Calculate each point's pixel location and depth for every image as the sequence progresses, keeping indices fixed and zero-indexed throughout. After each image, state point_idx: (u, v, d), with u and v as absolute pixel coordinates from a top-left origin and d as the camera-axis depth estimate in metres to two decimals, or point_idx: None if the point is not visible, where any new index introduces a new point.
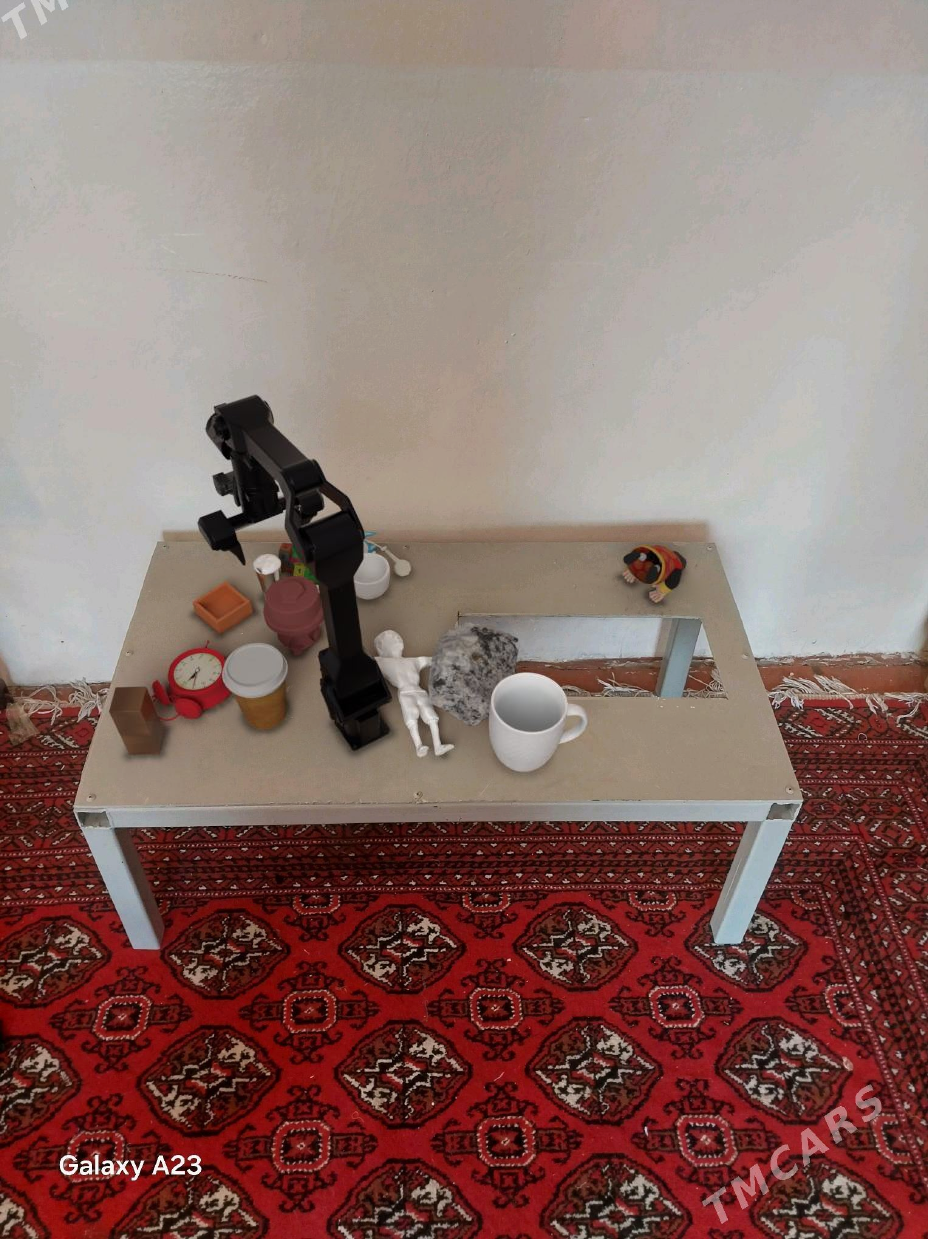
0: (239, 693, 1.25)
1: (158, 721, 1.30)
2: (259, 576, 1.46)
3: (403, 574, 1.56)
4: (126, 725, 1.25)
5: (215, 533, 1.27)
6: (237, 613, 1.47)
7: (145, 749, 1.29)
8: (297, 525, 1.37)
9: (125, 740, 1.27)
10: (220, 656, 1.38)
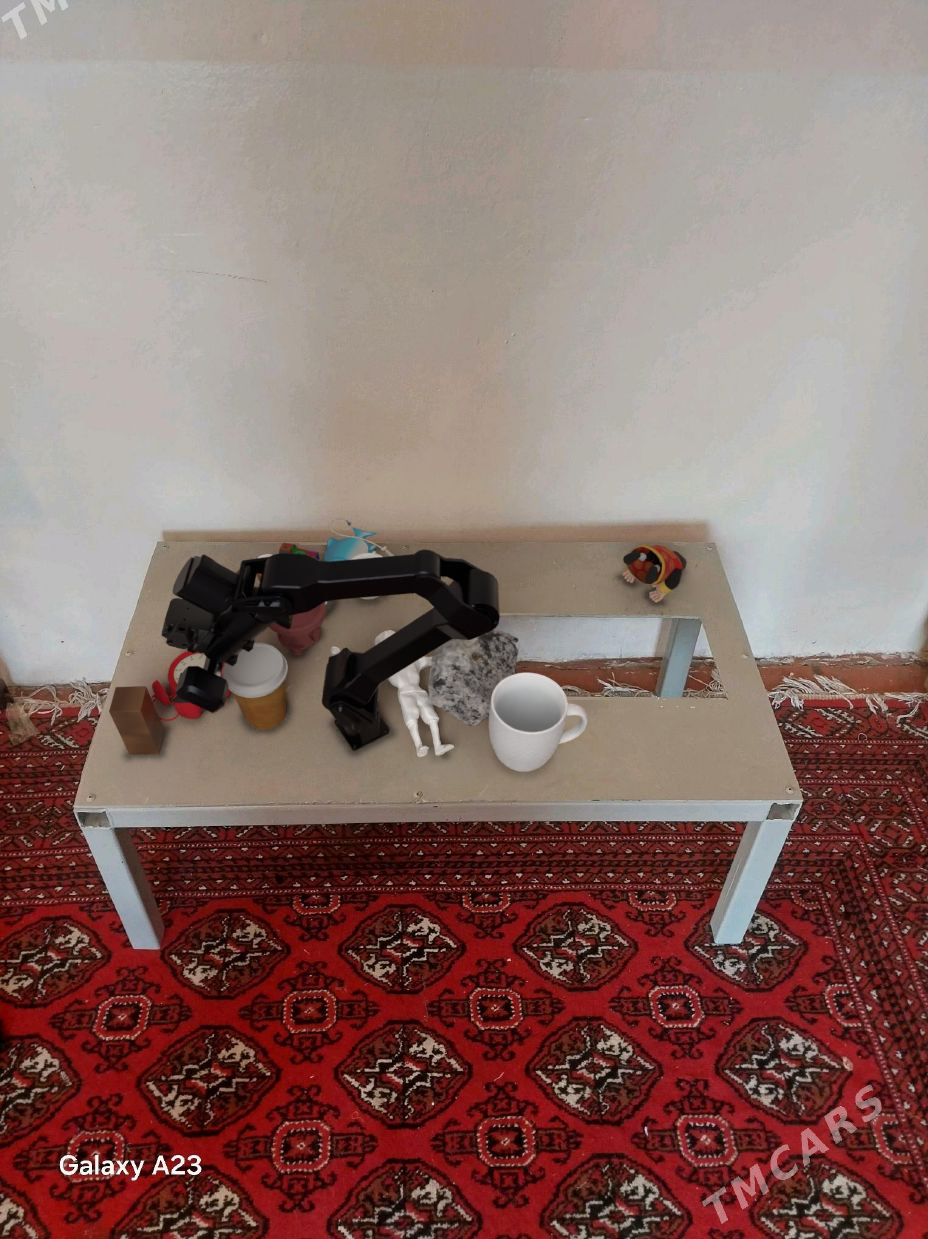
0: (239, 693, 1.25)
1: (158, 721, 1.30)
2: (259, 576, 1.46)
3: None
4: (126, 725, 1.25)
5: (222, 696, 1.15)
6: None
7: (145, 749, 1.29)
8: None
9: (125, 740, 1.27)
10: None
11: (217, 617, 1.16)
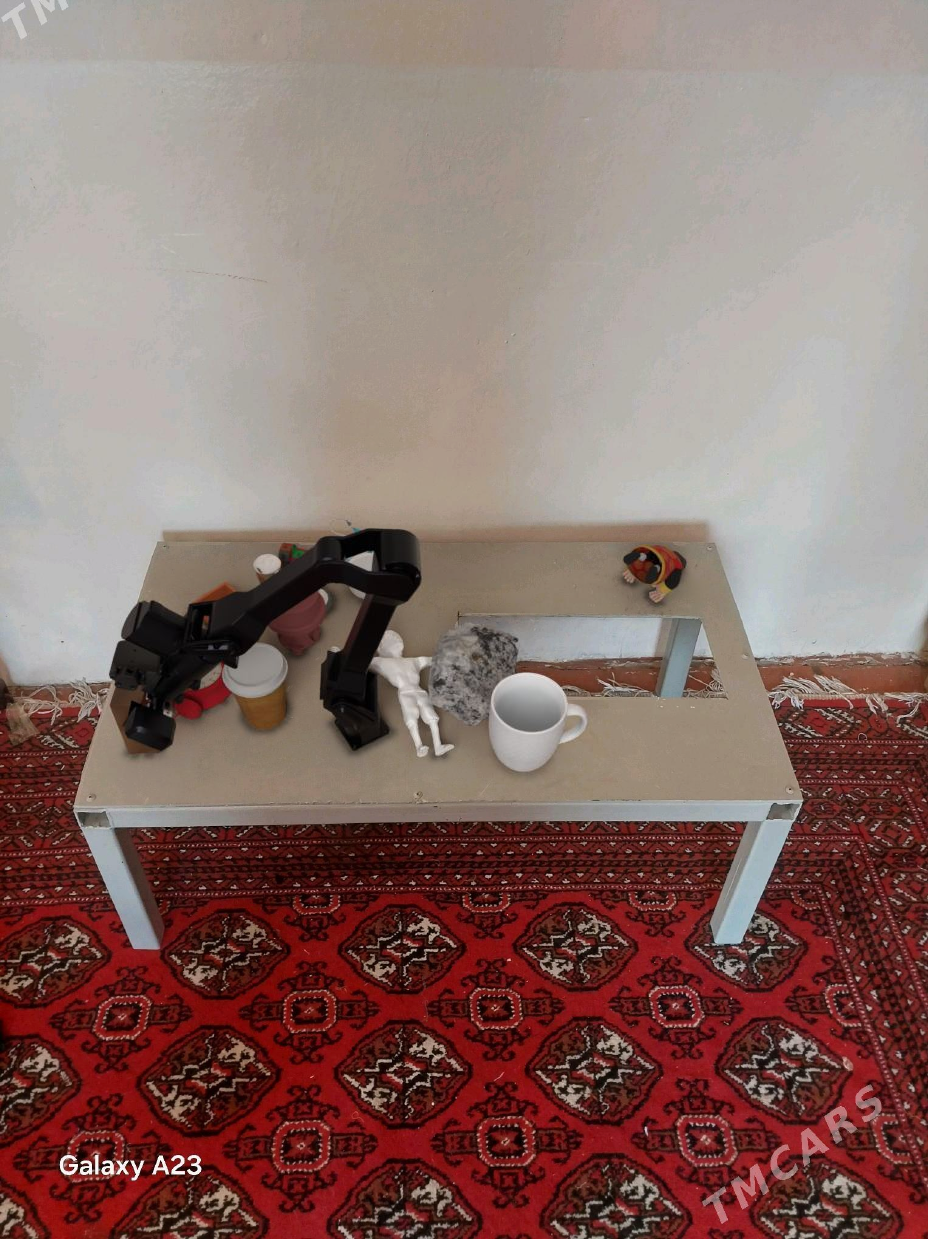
0: (239, 693, 1.25)
1: None
2: (259, 576, 1.46)
3: None
4: None
5: (171, 735, 1.18)
6: None
7: (144, 747, 1.29)
8: None
9: (125, 737, 1.27)
10: None
11: (164, 658, 1.19)
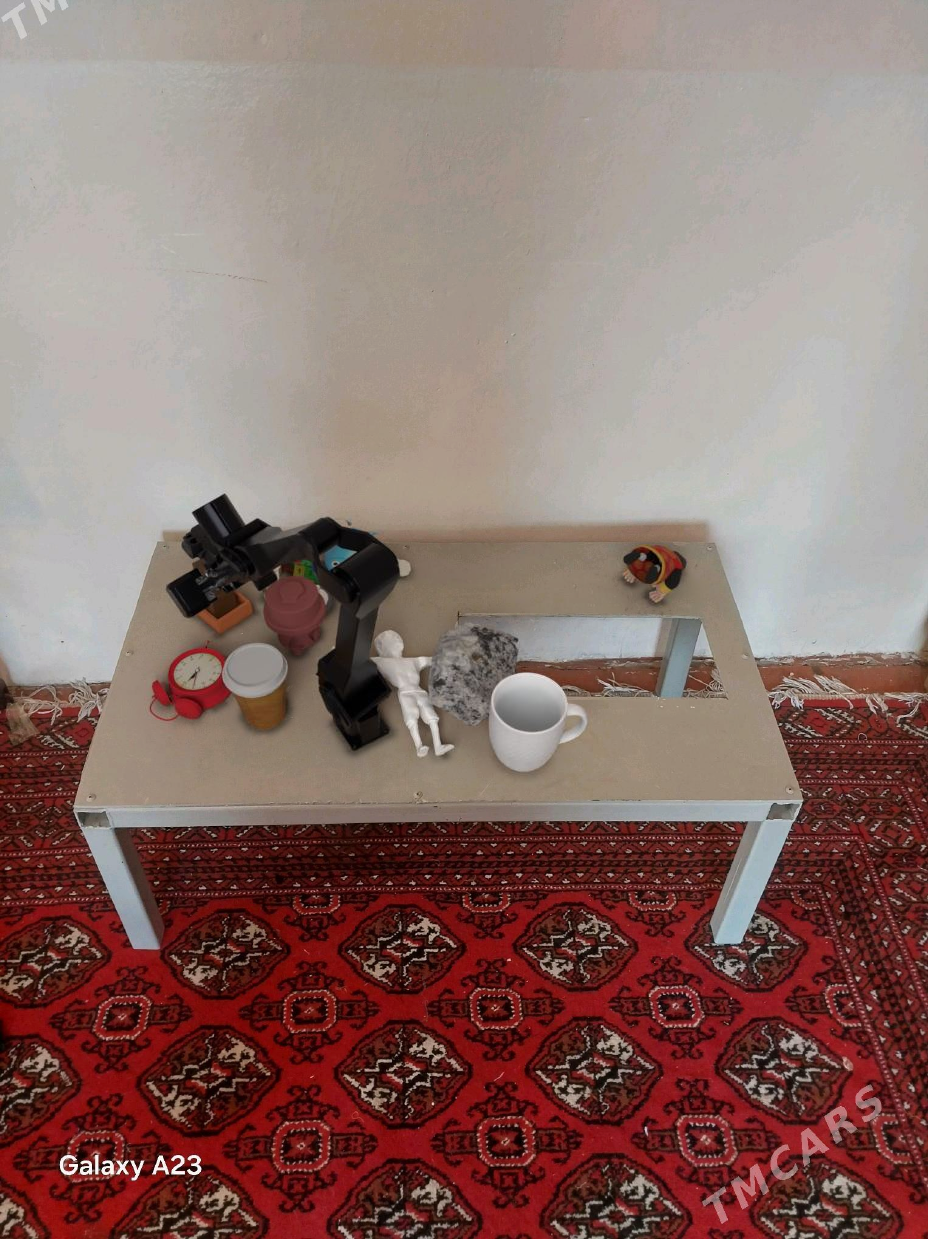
0: (239, 693, 1.25)
1: (232, 601, 1.47)
2: None
3: (403, 574, 1.56)
4: None
5: (193, 610, 1.33)
6: (237, 613, 1.47)
7: None
8: None
9: None
10: (220, 656, 1.38)
11: None
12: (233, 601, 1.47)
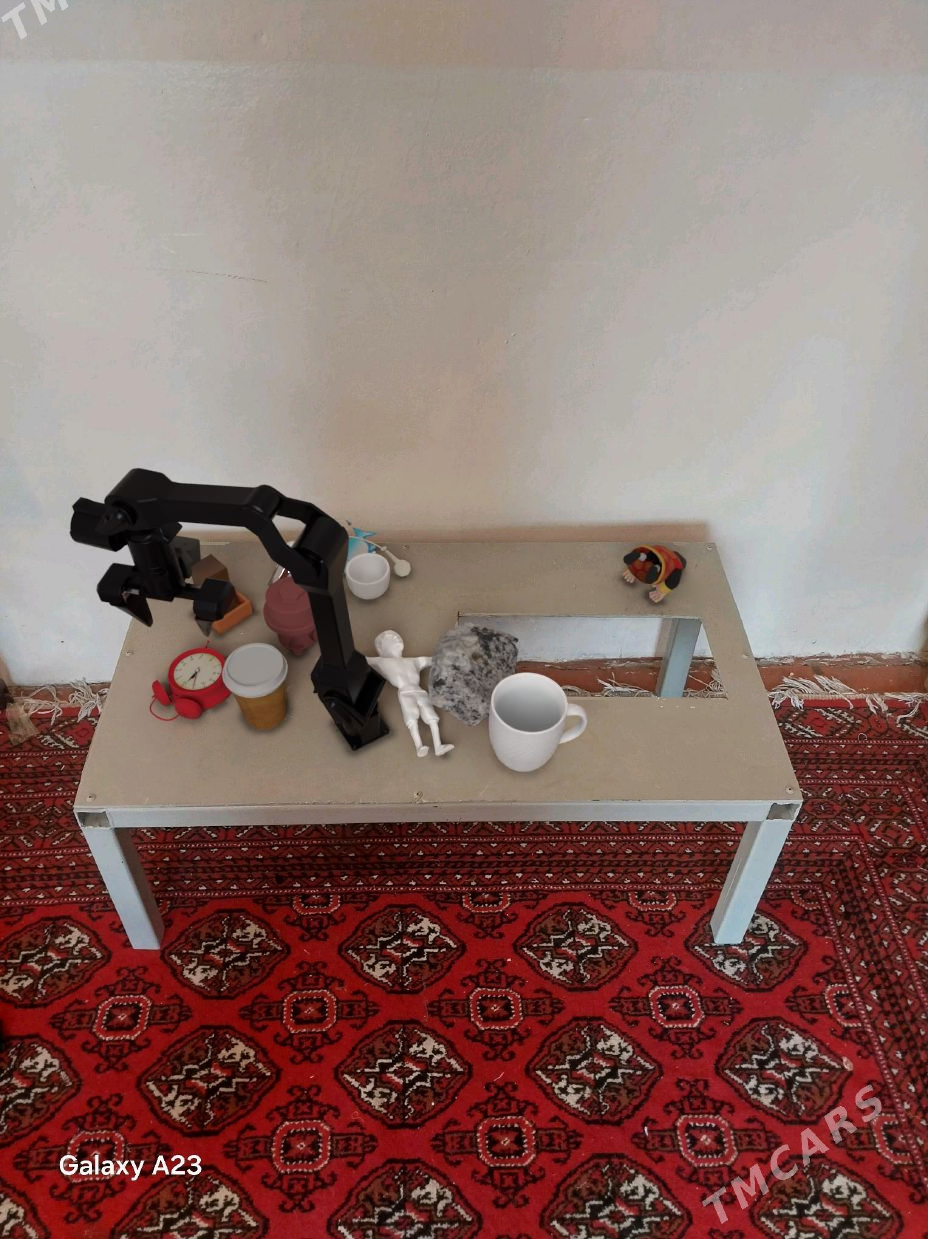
0: (239, 693, 1.25)
1: None
2: None
3: (403, 574, 1.56)
4: None
5: (102, 585, 1.22)
6: (237, 613, 1.47)
7: None
8: None
9: None
10: (220, 656, 1.38)
11: None
12: (232, 602, 1.47)
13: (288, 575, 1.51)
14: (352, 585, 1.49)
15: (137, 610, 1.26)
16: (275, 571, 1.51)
